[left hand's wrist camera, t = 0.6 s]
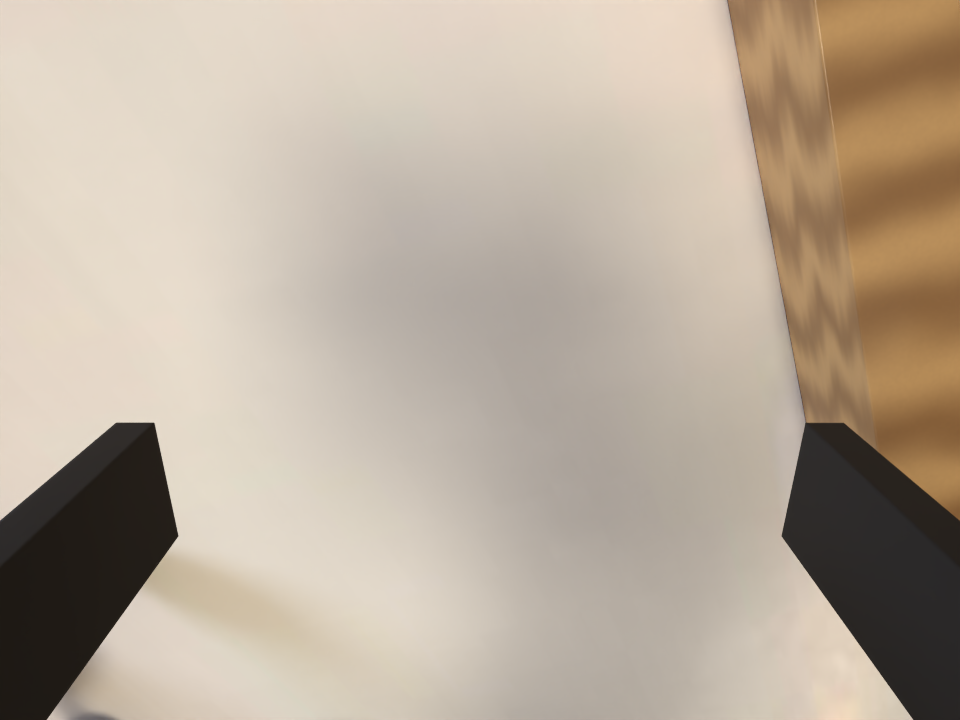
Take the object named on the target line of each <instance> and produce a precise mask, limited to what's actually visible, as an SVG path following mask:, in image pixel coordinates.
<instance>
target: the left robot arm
mask: <svg viewBox="0 0 960 720" xmlns="http://www.w3.org/2000/svg"><path fill="white" fill-rule="evenodd" d="M177 537H178V532H177V527H176V523H175V518H174V513H173V509H172V504H171V499H170V494H169V490H168V485H167V480H166V476H165V471H164V466H163V461H162V457H161V452H160V447H159V443H158V438H157V433H156V428H155V424H154V423H115V424H114V425H113V426H112V427H111V428H109V429H108V430H107V431H106V432H105V433H104V434H102V435H101V436H100V437H99V438H98V439H96V440H95V441H94V442H93V443H92V444H91V445H89V446H88V447H87V448H86V449H85V450H83V451H82V452H81V453H80V454H79V455H77V456H76V457H75V458H74V459H73V460H72V461H70V462H69V463H68V464H67V465H66V466H64V467H63V468H62V469H61V470H60V471H59V472H57V473H56V474H55V475H54V476H53V477H51V478H50V479H49V480H48V481H47V482H45V483H44V484H43V485H42V486H41V487H40V488H38V489H37V490H36V491H35V492H34V493H32V494H31V495H30V496H29V497H28V498H27V499H25V500H24V501H23V502H22V503H21V504H19V505H18V506H17V507H16V508H15V509H13V510H12V511H11V512H10V513H9V514H8V515H6V516H5V517H4V518H3V519H2V520H0V720H47V718H48V717H49V716H50V714H51V713H52V712H53V710H54V709H55V707H56V706H57V705H58V703H59V702H60V700H61V699H62V698H63V696H64V695H65V693H66V692H67V691H68V689H69V688H70V686H71V685H72V684H73V682H74V681H75V679H76V678H77V677H78V675H79V674H80V672H81V671H82V670H83V668H84V667H85V666H86V664H87V663H88V661H89V660H90V659H91V657H92V656H93V654H94V653H95V652H96V650H97V649H98V647H99V646H100V645H101V643H102V642H103V640H104V639H105V638H106V636H107V635H108V633H109V632H110V631H111V629H112V628H113V627H114V625H115V624H116V622H117V621H118V620H119V618H120V617H121V615H122V614H123V613H124V611H125V610H126V608H127V607H128V606H129V604H130V603H131V601H132V600H133V599H134V597H135V596H136V594H137V593H138V592H139V590H140V589H141V587H142V586H143V585H144V583H145V582H146V581H147V579H148V578H149V576H150V575H151V574H152V572H153V571H154V569H155V568H156V567H157V565H158V564H159V562H160V561H161V560H162V558H163V557H164V555H165V554H166V553H167V551H168V550H169V548H170V547H171V546H172V544H173V543H174V542H175V540H176V539H177ZM782 537H783V539H784V540H785V542H786V543H787V544H788V546H789V547H790V548H791V550H792V551H793V553H794V554H795V555H796V557H797V558H798V560H799V561H800V562H801V564H802V565H803V567H804V568H805V569H806V571H807V572H808V574H809V575H810V576H811V578H812V579H813V581H814V582H815V583H816V585H817V586H818V587H819V589H820V590H821V592H822V593H823V594H824V596H825V597H826V599H827V600H828V601H829V603H830V604H831V606H832V607H833V608H834V610H835V611H836V613H837V614H838V615H839V617H840V618H841V620H842V621H843V622H844V624H845V625H846V627H847V628H848V629H849V631H850V632H851V633H852V635H853V636H854V638H855V639H856V640H857V642H858V643H859V645H860V646H861V647H862V649H863V650H864V652H865V653H866V654H867V656H868V657H869V659H870V660H871V661H872V663H873V664H874V666H875V667H876V668H877V670H878V671H879V672H880V674H881V675H882V677H883V678H884V679H885V681H886V682H887V684H888V685H889V686H890V688H891V689H892V691H893V692H894V693H895V695H896V696H897V698H898V699H899V700H900V702H901V703H902V705H903V706H904V707H905V709H906V710H907V712H908V713H909V714H910V716H911V717H912V718H913V720H960V520H958V519H957V518H956V517H955V516H954V515H952V514H951V513H950V512H949V511H948V510H947V509H945V508H944V507H943V506H942V505H941V504H939V503H938V502H937V501H936V500H935V499H933V498H932V497H931V496H930V495H929V494H928V493H926V492H925V491H924V490H923V489H922V488H920V487H919V486H918V485H917V484H916V483H915V482H913V481H912V480H911V479H910V478H909V477H907V476H906V475H905V474H904V473H903V472H901V471H900V470H899V469H898V468H897V467H896V466H894V465H893V464H892V463H891V462H890V461H888V460H887V459H886V458H885V457H884V456H883V455H881V454H880V453H879V452H878V451H877V450H875V449H874V448H873V447H872V446H871V445H869V444H868V443H867V442H866V441H865V440H864V439H862V438H861V437H860V436H859V435H858V434H856V433H855V432H854V431H853V430H852V429H851V428H849V427H848V426H847V425H846V424H845V423H806V424H805V428H804V433H803V438H802V443H801V447H800V452H799V457H798V461H797V466H796V471H795V476H794V480H793V485H792V490H791V494H790V499H789V504H788V509H787V513H786V518H785V523H784V527H783V532H782Z"/></svg>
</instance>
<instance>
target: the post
mask: <svg viewBox="0 0 960 720" xmlns="http://www.w3.org/2000/svg"><path fill="white" fill-rule="evenodd" d="M728 5H729V10H730V15H731V21H732V26H733V31H734V37H735V42H736V48H737V53H738V58H739V64H740V69H741V74H742V80H743V85H744V90H745V96H746V101H747V107H748V112H749V117H750V123H751V128H752V133H753V139H754V144H755V150H756V155H757V160H758V166H759V171H760V176H761V182H762V187H763V192H764V198H765V203H766V209H767V214H768V219H769V225H770V230H771V235H772V241H773V246H774V251H775V257H776V262H777V268H778V273H779V278H780V284H781V289H782V294H783V300H784V305H785V310H786V316H787V321H788V327H789V332H790V337H791V343H792V348H793V353H794V359H795V364H796V369H797V375H798V380H799V386H800V391H801V396H802V402H803V407H804V412H805V418H806V423H845V424H846V425H847V426H848V427H849V428H851V429H852V430H853V431H854V432H855V433H856V434H858V435H859V436H860V437H861V438H862V439H864V440H865V441H866V442H867V443H868V444H869V445H871V446H872V447H873V448H874V449H875V450H877V451H878V452H879V453H880V454H881V455H883V456H884V457H885V458H886V459H887V460H888V461H890V462H891V463H892V464H893V465H894V466H896V467H897V468H898V469H899V470H900V471H901V472H903V473H904V474H905V475H906V476H907V477H909V478H910V479H911V480H912V481H913V482H915V483H916V484H917V485H918V486H919V487H920V488H922V489H923V490H924V491H925V492H926V493H928V494H929V495H930V496H931V497H932V498H933V499H935V500H936V501H937V502H938V503H939V504H941V505H942V506H943V507H944V508H945V509H947V510H948V511H949V512H950V513H951V514H952V515H954V516H955V517H956V518H957V519H958V520H960V1H959V0H728Z"/></svg>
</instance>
